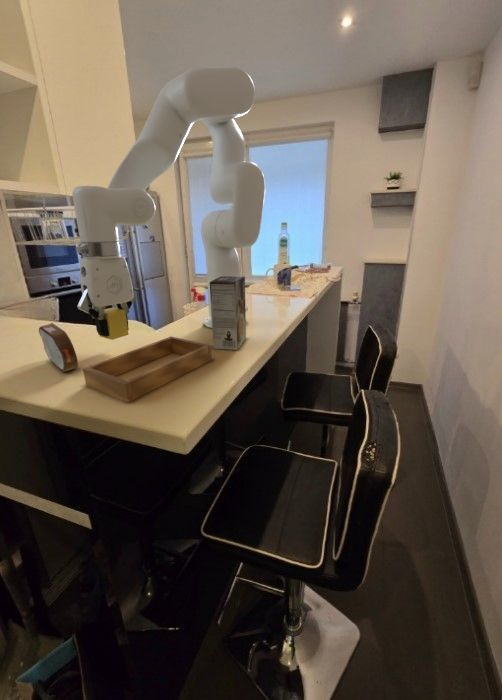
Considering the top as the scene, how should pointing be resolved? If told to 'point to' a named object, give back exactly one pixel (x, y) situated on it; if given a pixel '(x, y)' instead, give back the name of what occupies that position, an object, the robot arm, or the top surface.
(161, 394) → the top surface
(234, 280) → the coffee box
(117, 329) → the block
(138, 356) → the wooden tray
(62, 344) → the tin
